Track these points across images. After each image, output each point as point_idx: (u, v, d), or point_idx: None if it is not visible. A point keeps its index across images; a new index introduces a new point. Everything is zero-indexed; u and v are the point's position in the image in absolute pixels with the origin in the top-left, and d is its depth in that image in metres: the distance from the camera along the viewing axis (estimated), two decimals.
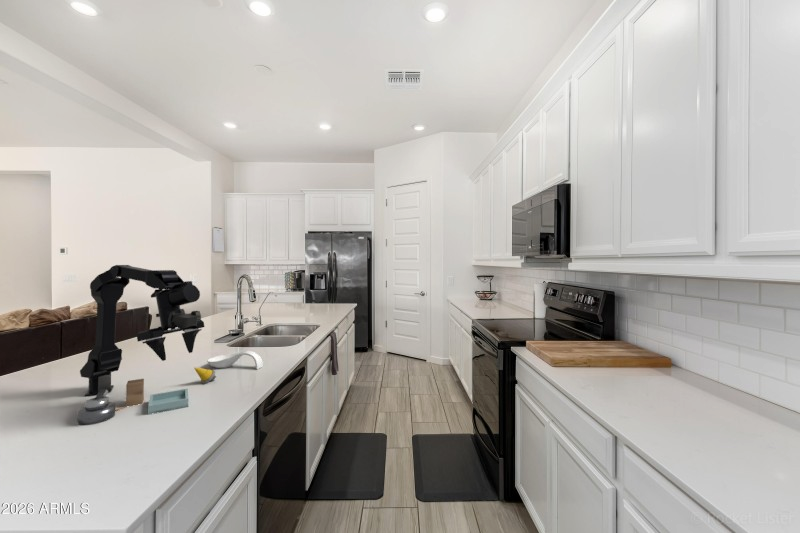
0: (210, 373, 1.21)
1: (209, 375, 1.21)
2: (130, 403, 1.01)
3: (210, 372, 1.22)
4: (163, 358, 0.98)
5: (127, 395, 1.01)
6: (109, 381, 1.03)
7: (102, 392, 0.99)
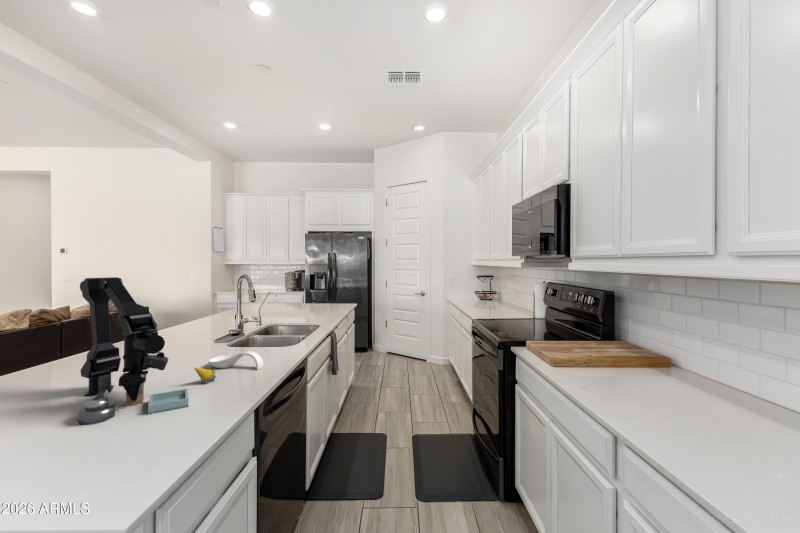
0: (210, 373, 1.21)
1: (209, 375, 1.21)
2: (130, 403, 1.01)
3: (210, 372, 1.22)
4: (135, 398, 1.02)
5: (127, 395, 1.01)
6: (109, 381, 1.03)
7: (102, 392, 0.99)
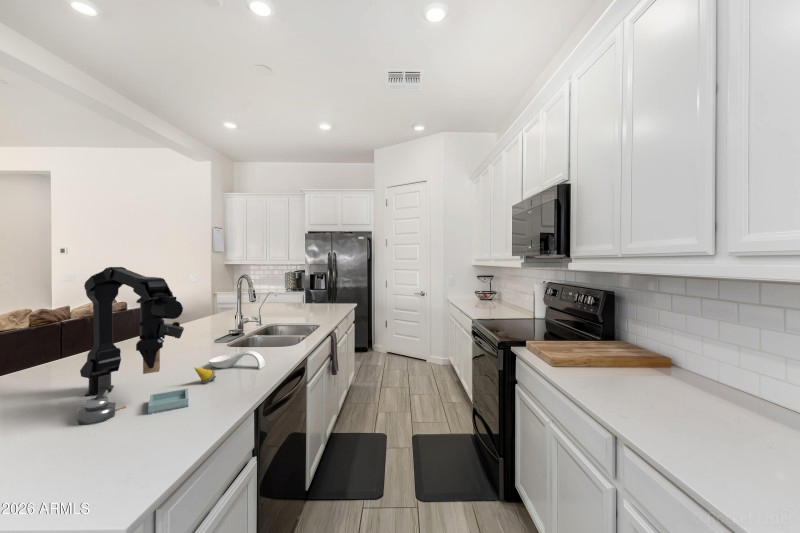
0: (210, 373, 1.21)
1: (209, 375, 1.21)
2: (147, 370, 1.01)
3: (210, 372, 1.22)
4: (152, 366, 1.01)
5: (144, 362, 1.00)
6: (109, 381, 1.03)
7: (102, 392, 0.99)
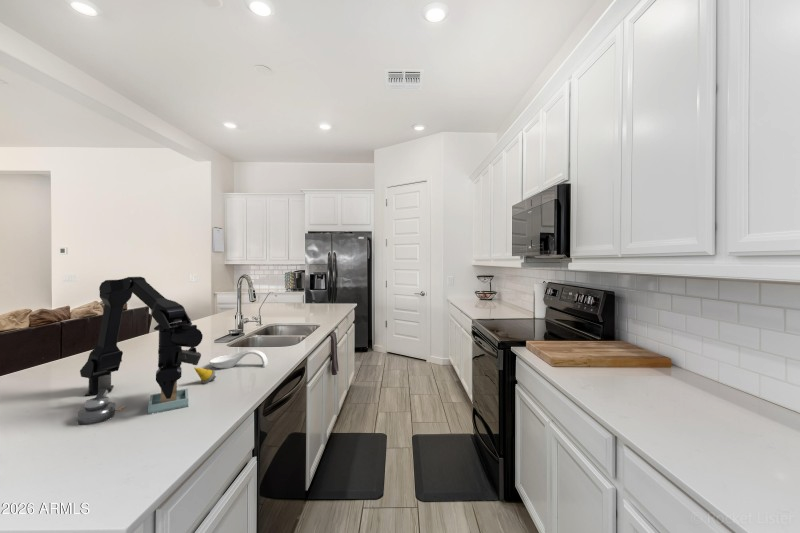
0: (210, 373, 1.21)
1: (209, 375, 1.21)
2: None
3: (210, 372, 1.22)
4: (170, 396, 0.99)
5: (162, 394, 1.00)
6: (109, 381, 1.03)
7: (102, 392, 0.99)
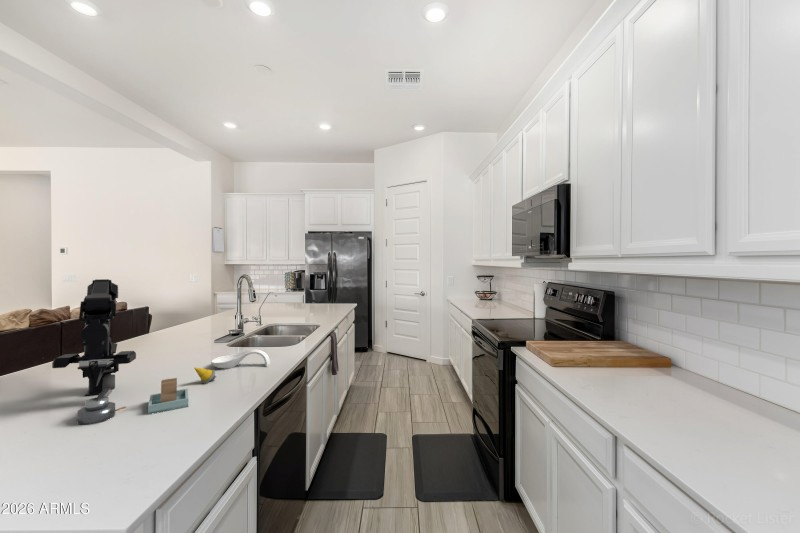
0: (210, 373, 1.21)
1: (209, 375, 1.21)
2: None
3: (210, 372, 1.22)
4: (97, 383, 1.02)
5: (162, 394, 1.00)
6: (113, 381, 1.04)
7: (105, 392, 0.99)
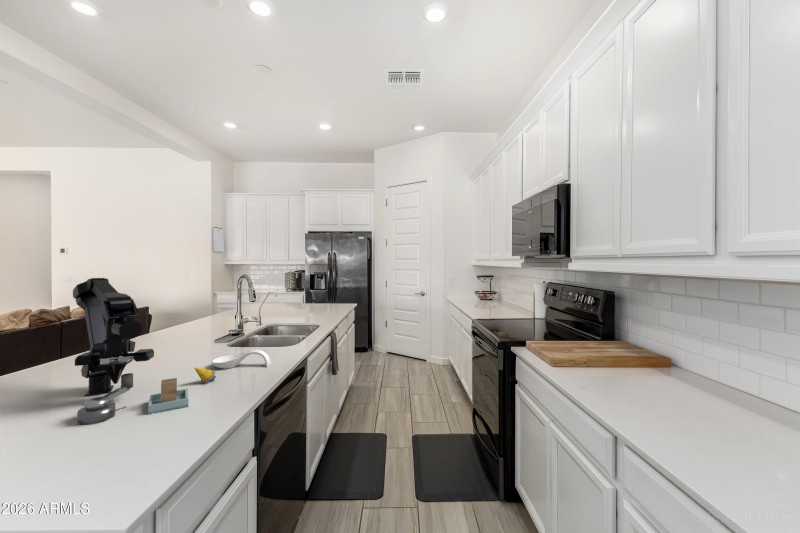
0: (210, 373, 1.21)
1: (209, 375, 1.21)
2: None
3: (210, 372, 1.22)
4: (118, 380, 1.05)
5: (162, 394, 1.00)
6: (129, 380, 1.04)
7: (115, 391, 1.00)
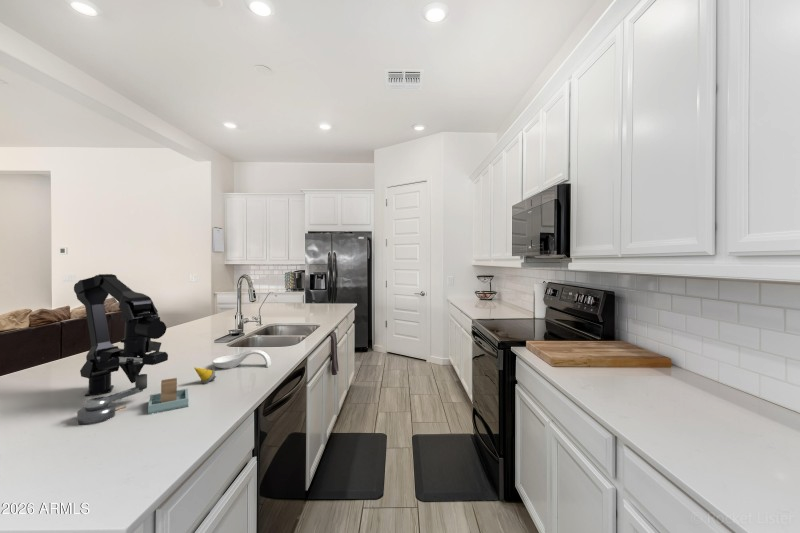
0: (210, 373, 1.21)
1: (209, 375, 1.21)
2: None
3: (210, 372, 1.22)
4: None
5: (162, 394, 1.00)
6: (141, 381, 1.04)
7: (123, 392, 0.99)
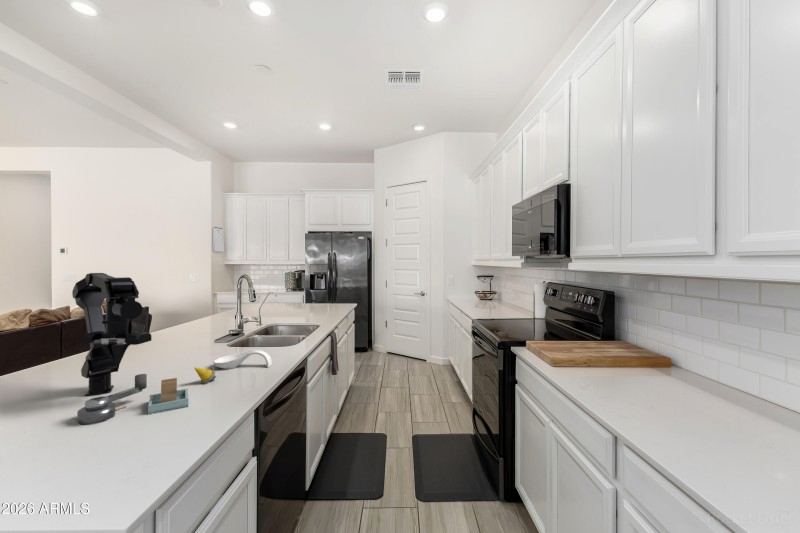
0: (210, 373, 1.21)
1: (209, 375, 1.21)
2: None
3: (210, 372, 1.22)
4: (119, 361, 1.05)
5: (162, 394, 1.00)
6: (141, 381, 1.04)
7: (123, 392, 1.00)
